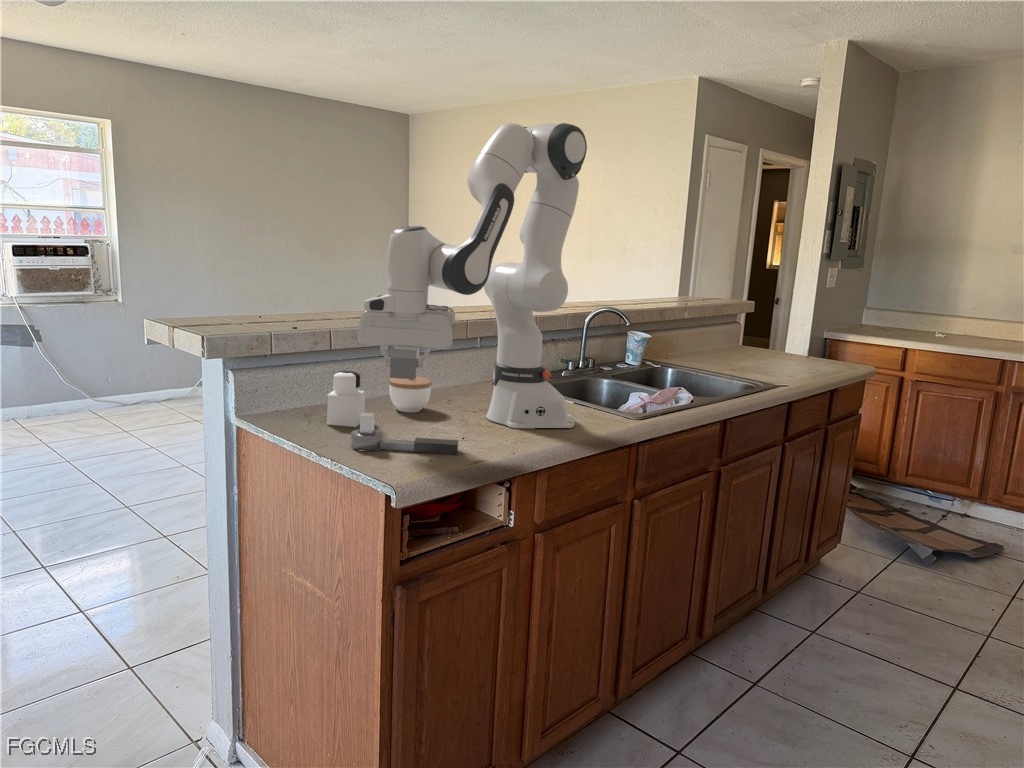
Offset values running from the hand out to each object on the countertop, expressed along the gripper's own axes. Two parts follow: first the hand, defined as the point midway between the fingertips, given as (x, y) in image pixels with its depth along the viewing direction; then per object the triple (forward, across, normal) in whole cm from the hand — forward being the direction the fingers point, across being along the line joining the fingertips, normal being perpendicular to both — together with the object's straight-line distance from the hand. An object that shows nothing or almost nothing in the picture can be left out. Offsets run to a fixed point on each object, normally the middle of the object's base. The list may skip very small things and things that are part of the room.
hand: (404, 366), depth 150 cm
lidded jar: (+16, +1, -24) cm, 29 cm away
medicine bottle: (+16, +14, -8) cm, 23 cm away
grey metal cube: (+2, 0, 0) cm, 2 cm away
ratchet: (+16, -2, +10) cm, 19 cm away
